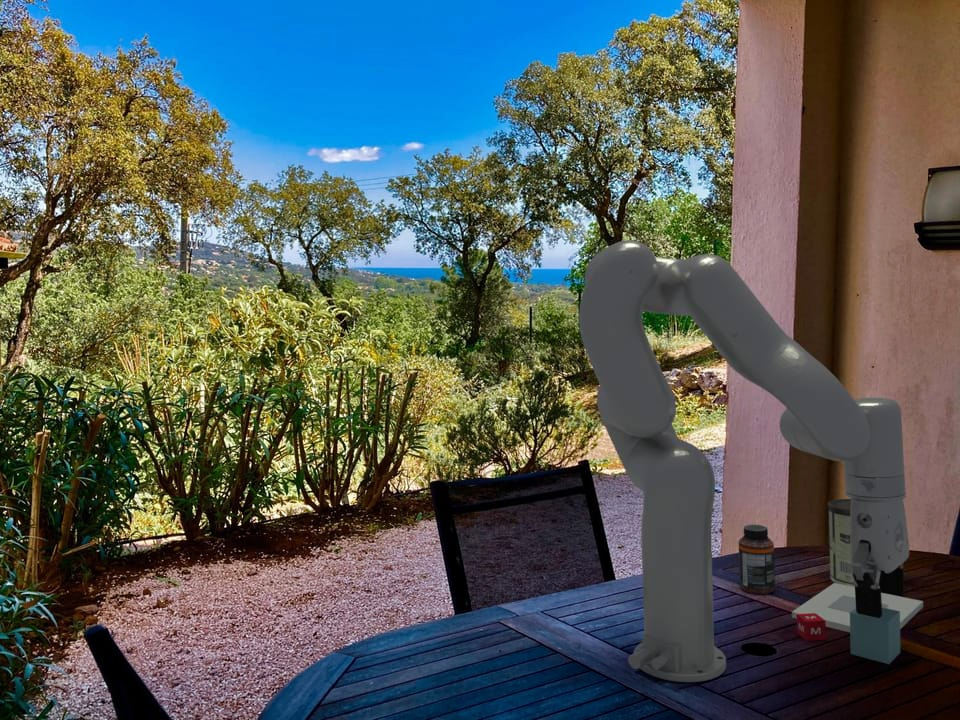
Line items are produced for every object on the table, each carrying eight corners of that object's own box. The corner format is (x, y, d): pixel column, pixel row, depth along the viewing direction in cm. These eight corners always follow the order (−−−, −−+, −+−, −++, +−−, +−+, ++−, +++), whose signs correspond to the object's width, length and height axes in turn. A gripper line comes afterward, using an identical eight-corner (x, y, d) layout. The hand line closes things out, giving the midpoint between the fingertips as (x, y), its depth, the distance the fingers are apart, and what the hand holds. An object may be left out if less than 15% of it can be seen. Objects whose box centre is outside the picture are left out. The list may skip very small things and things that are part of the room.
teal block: (888, 664, 101) (888, 621, 101) (850, 654, 105) (849, 612, 105) (900, 652, 105) (899, 611, 105) (862, 643, 109) (862, 603, 108)
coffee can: (890, 575, 137) (889, 500, 136) (894, 593, 128) (893, 513, 127) (829, 569, 141) (827, 496, 141) (829, 586, 132) (827, 508, 132)
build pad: (887, 641, 108) (886, 634, 108) (791, 618, 119) (791, 611, 118) (923, 607, 121) (922, 600, 121) (834, 588, 131) (834, 582, 131)
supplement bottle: (745, 581, 136) (743, 521, 136) (778, 587, 133) (777, 525, 132) (735, 591, 131) (733, 528, 131) (770, 597, 128) (768, 533, 127)
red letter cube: (815, 632, 113) (815, 612, 113) (826, 640, 110) (825, 620, 110) (796, 633, 113) (796, 614, 113) (806, 641, 110) (806, 621, 110)
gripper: (883, 501, 96) (890, 631, 96) (922, 476, 108) (928, 591, 108) (823, 495, 101) (830, 618, 101) (867, 472, 113) (873, 582, 114)
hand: (881, 604), depth 105 cm, fingers open, 9 cm apart
